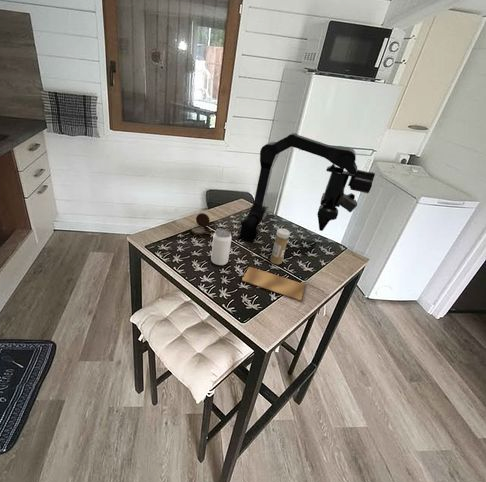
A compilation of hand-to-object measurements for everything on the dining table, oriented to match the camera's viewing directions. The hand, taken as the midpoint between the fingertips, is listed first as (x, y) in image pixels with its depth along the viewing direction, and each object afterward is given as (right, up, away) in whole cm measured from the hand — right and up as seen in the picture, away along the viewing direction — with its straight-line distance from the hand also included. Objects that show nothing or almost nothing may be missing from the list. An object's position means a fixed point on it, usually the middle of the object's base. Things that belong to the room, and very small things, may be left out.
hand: (321, 225), depth 105 cm
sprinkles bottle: (-17, -14, +2) cm, 22 cm away
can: (-39, -13, -1) cm, 41 cm away
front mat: (-20, -20, -9) cm, 30 cm away
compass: (-46, -2, +16) cm, 49 cm away
